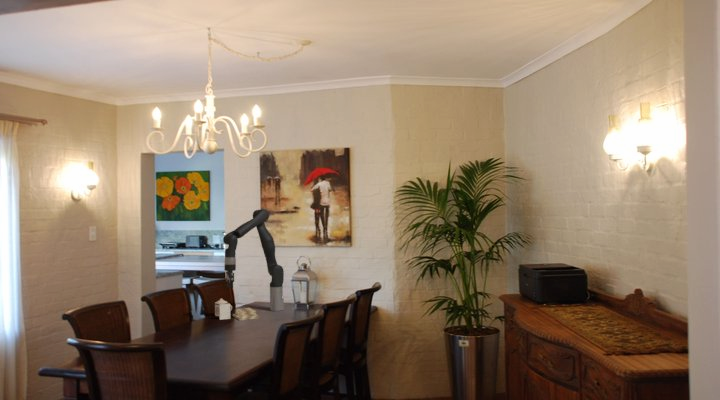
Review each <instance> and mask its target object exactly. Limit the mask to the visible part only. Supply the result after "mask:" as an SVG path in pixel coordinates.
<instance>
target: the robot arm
mask: <svg viewBox="0 0 720 400" xmlns="http://www.w3.org/2000/svg"><path fill="white" fill-rule="evenodd" d="M269 218H270V212H269V211H268V210H267V209H263V208H262V209H256V210H254V211H253V212H252V218H251V219H250V220H248V221H246V222H244V223H242V224H241V225H239V226H237V228H235V229H234V230H232V231H230V232H228V233H226V234H225V235H224V237H223V238H222V242H223V244H225V245H227V248H226V249H225V250H224V268H223V269H224V271H225V280H226V287H228V288H229V289H233V288H234V282H235V272H233V271H236V270H237V269H236V266H237V265H236V264H237V262H236V261H237V257H236V250H237V248H238V247H237V246H238V240H239V239H241V238H243V237H244V236H246V235H247V234H248V233H249V232H250V231H251V230H254V229H255V228H256V230H257V233H258V237H259V240H260V243H261V247H262V251H263V255H264V257H265V261H266V266H267V272H268V274H269V276H271V281H270V283H269V308H270V309H269V311H272V312H280V311H284V308H285V307H284V306H285V305H284V304H285V303H284V300H285V298H284V296H283V295H284V294H283V285H284V279H285V278H284V275H285V273H284V272H285V271H284V267H283V266H282V265H280V264H278V262H277V259H276V244H275V240H274V237H273V235H272V234H271V233H270V231H269V230H268V228H267V226H266V224H265V223H266V222H267V221H268V220H269Z"/></svg>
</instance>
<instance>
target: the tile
mask: <svg viewBox="0 0 720 400" xmlns="http://www.w3.org/2000/svg"><path fill="white" fill-rule="evenodd" d="M230 305H231V303H229V302H228V304H219V316H218V317H219V320H220V321H221V320H231V311H230V310H231V306H230Z"/></svg>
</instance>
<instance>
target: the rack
mask: <svg viewBox="0 0 720 400" xmlns="http://www.w3.org/2000/svg"><path fill="white" fill-rule="evenodd" d="M232 317H234V318H235V320H237V321H245V320H246V321H247V320H256V319H257V320H258V319H260V315H258V314H257V310H255V309H253V308H251V307H244V308H236V309H235V313H232Z"/></svg>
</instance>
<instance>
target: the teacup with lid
mask: <svg viewBox="0 0 720 400" xmlns="http://www.w3.org/2000/svg"><path fill="white" fill-rule="evenodd" d="M219 304H229V302H228V301H227V300H224V299H223V298H219V300H217V301H216V302H214V315H215V317H219ZM232 310H233V306H232V305H231V304H230V312H231V311H232Z"/></svg>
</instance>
